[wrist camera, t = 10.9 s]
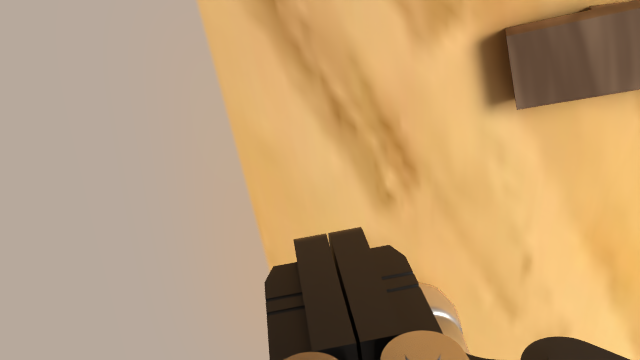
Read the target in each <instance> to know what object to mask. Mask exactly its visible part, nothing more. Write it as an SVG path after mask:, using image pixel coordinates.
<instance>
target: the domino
mask: <svg viewBox="0 0 640 360" xmlns="http://www.w3.org/2000/svg"><path fill="white" fill-rule="evenodd" d="M505 30H506V39H507V46H508V52H509V59H510V66H511V73H512V79H513V86H514V93H515V100H516V107H517V110H518V109H524V108H530V107H536V106H542V105H549V104H555V103H561V102H567V101H573V100H579V99H585V98H591V97H597V96H603V95H609V94H615V93H621V92H627V91H633V90H639V89H640V0H634V1H629V2H624V3H620V4H615V5H611V6H606V7H601V8H597V9H592V10H587V11H583V12H578V13H573V14H569V15H564V16H560V17H555V18H550V19H546V20H541V21H536V22H532V23H527V24H523V25H518V26H513V27H509V28H505Z"/></svg>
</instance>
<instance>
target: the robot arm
mask: <svg viewBox="0 0 640 360" xmlns="http://www.w3.org/2000/svg"><path fill="white" fill-rule="evenodd" d="M328 235H329V242H328V239H327V235H326V234H321V235H316V236H310V237H305V238H299V239H294V245H295V251H296V257H297V262H295V263H290V264H284V265H279V266H273V268H272V270H271V272H270V273H269V275H268V277H267V279H266V281H265V296H266V309H267V310H266V311H267V326H268V339H269V340H268V341H269V354H270V360H494V359H485V358H480V357H476V356H473V355H470V354H467V353H465V352H464V350H463V349H462V347H461V346H460V345H459V344H458V343H457V342H456V341H455V340H453V339H452V338H450V337H448V336H446V335H444V334H443V332H442V330H441V328H440V326H439V324H438V322H437V320H436V318H435V316H434V314H433V312H432V310H431V308H430V306H429V304H428V302H427V300H426V298H425V296H424V294H423V291H422V289H421V287H419V283H418V281H417V279H416V277H415V275H414V274H413V271H412V269H411V267H410V265H409V263H408V261H407V259H406V257H405V256H404V255H403V254H401V253H400V252H398V251H397V250H396V249H394V248H393V247H391V246H390V245H386V246H381V247H376V248H370V247H369V245H368V242H367V240H366V237H365V235H364V232H363V230H362V228H361V227H359V228H353V229H348V230H342V231H337V232H331V233H329V234H328ZM329 244H330V246H329ZM521 360H630V359H627V358H625V357H622V356H620V355H617V354H615V353H612V352H610V351H607V350H605V349H602V348H600V347H597V346H595V345H592V344H590V343H587V342H585V341H582V340H579V339H574V338H569V337H547V338H543V339H540V340H537V341H535V342H533V343H532V344H530V345H529V346H528V347H527V348H526V349H525V350H524V352H523V353H522V356H521Z"/></svg>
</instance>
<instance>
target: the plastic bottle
mask: <svg viewBox="0 0 640 360" xmlns="http://www.w3.org/2000/svg"><path fill="white" fill-rule="evenodd" d="M419 287H421V289H422V291H423V294H424V296H425V298H426V300H427V302H428V304H429V306H430V308H431V310H432V312H433V314H434V316H435V318H436V320H437V322H438V324H439V326H440V328H441V330H442V332H443V334H444V335H446V336H448V337H450V338H452V339H453V340H455V341H456V342H457V343H458V344H459V345H460V346H461V347H462V349H463V350H464V352H465V353H467V354H470V352H469V350H468V347H467V345H466V342H465V340H464V337H463V333H462V328H461V323H460V320H459V317H458V314H457V311H456V309H455V307H454V305H453V304H452V302H451V301H450V300H449V299H448V298H447V297H446V296H445V295H444V293H443V292H442V291H440V290H439V289H438V288H436V287H434V286H431V285H428V284H423V283H419Z"/></svg>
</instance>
